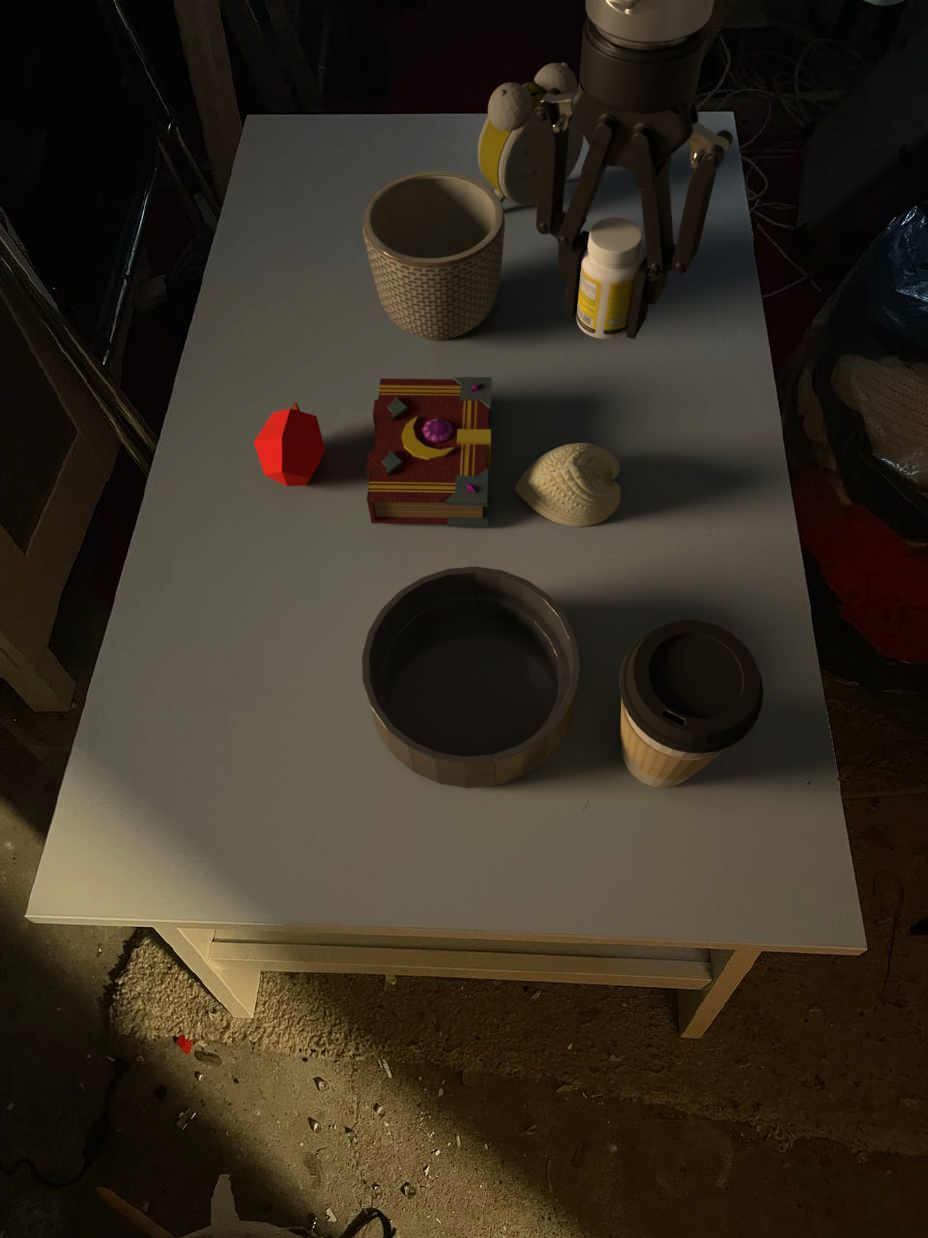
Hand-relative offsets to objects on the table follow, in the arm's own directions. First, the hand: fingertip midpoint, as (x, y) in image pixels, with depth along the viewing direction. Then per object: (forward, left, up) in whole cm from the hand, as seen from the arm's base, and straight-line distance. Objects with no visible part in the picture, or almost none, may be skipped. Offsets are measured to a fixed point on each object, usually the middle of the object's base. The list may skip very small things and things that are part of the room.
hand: (604, 316), depth 74 cm
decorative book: (+13, +8, -17) cm, 23 cm away
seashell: (-1, +6, -17) cm, 18 cm away
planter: (+21, -10, -17) cm, 29 cm away
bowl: (-1, +29, -16) cm, 33 cm away
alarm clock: (+19, -31, -17) cm, 40 cm away
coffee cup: (-17, +27, -17) cm, 36 cm away
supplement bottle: (0, 0, -1) cm, 1 cm away
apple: (+25, +14, -17) cm, 33 cm away
